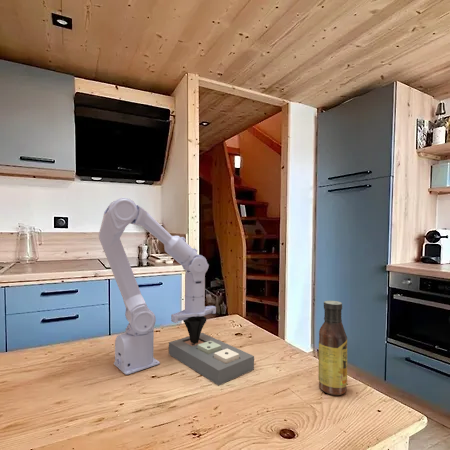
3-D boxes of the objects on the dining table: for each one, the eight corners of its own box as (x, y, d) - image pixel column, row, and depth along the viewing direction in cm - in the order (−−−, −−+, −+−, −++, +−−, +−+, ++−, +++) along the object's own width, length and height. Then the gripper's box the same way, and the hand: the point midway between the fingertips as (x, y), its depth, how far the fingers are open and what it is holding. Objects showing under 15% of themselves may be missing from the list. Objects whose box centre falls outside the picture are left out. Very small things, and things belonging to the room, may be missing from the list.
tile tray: (218, 385, 71) (218, 370, 71) (168, 354, 88) (168, 342, 88) (253, 369, 79) (254, 356, 79) (202, 343, 95) (202, 332, 95)
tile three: (192, 353, 85) (192, 346, 85) (183, 348, 89) (183, 341, 89) (205, 349, 88) (205, 342, 88) (195, 344, 92) (195, 337, 92)
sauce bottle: (349, 398, 66) (350, 307, 66) (319, 395, 68) (320, 305, 68) (344, 383, 73) (345, 300, 73) (316, 380, 74) (318, 298, 74)
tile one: (225, 366, 75) (225, 358, 75) (213, 360, 78) (213, 352, 78) (239, 361, 78) (239, 353, 78) (227, 355, 81) (227, 347, 81)
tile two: (207, 356, 80) (208, 349, 80) (197, 351, 83) (197, 344, 83) (221, 352, 83) (221, 345, 83) (210, 346, 87) (210, 340, 86)
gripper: (181, 302, 81) (180, 353, 81) (222, 294, 90) (222, 340, 90) (167, 297, 86) (166, 345, 86) (207, 290, 96) (207, 333, 96)
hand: (194, 342), depth 89 cm, fingers closed, pressing on tile three
